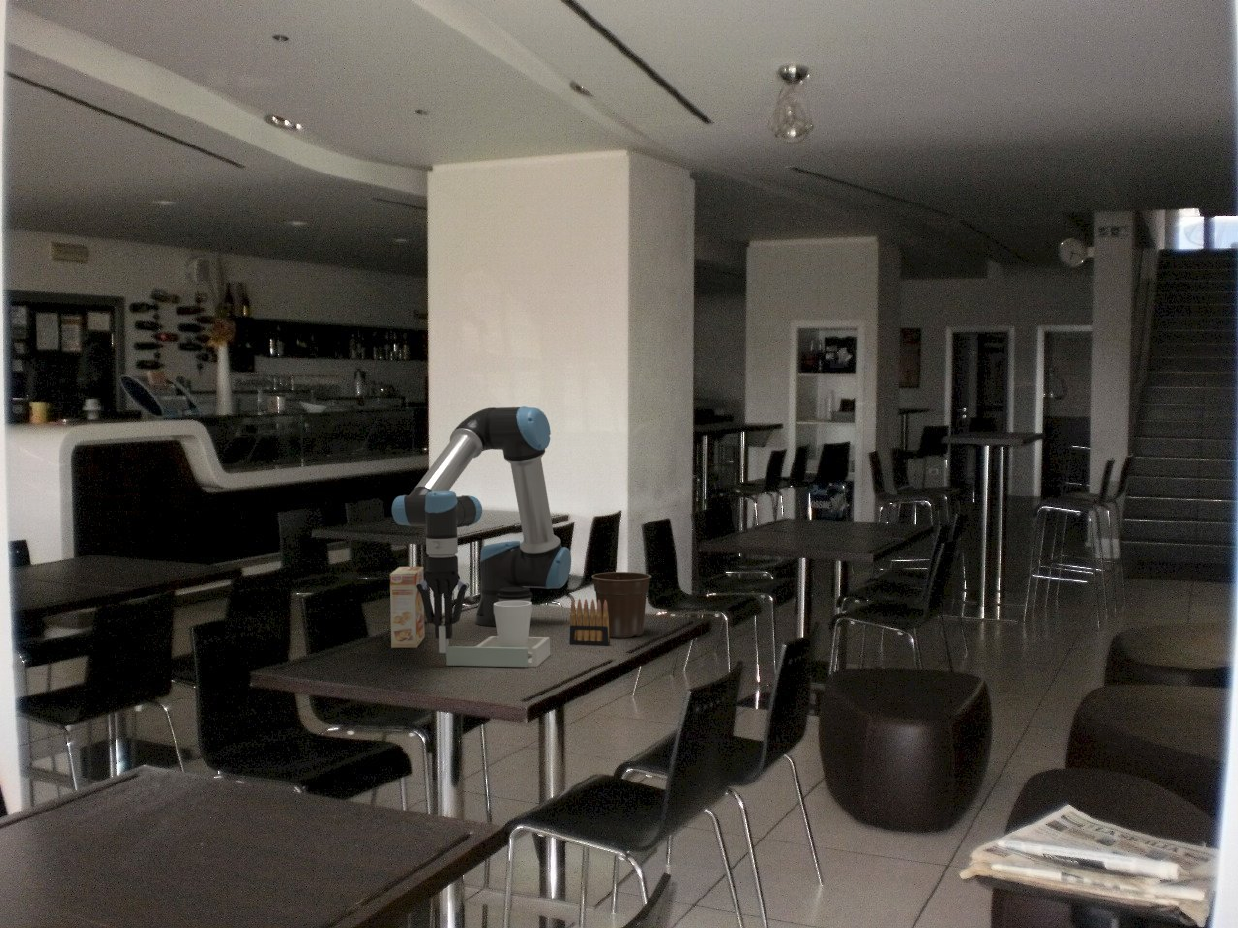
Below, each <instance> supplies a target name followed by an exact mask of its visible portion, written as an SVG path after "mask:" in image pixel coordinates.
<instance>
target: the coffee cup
mask: <svg viewBox="0 0 1238 928" xmlns="http://www.w3.org/2000/svg"><path fill="white" fill-rule="evenodd" d="M497 598H499V602H502V601H529V602H532V601H531V600H532V598H533V592H531V590H530V587H506V588H501V589H499V593H498V594H497Z"/></svg>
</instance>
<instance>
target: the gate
mask: <svg viewBox="0 0 1238 928" xmlns="http://www.w3.org/2000/svg"><path fill="white" fill-rule="evenodd" d="M445 654H446V655H445V656H446V657H445V659H446V660H445V661H446V666H449V667H450V666H454V667H491V668H493V667H496V668H498V667H500V668H501V667H502V668H529V667H528V648H519V647H476V646H468V645H467V646H463V645H460V646H459V645H458V646H457V645H449V646H447V647H446V653H445Z"/></svg>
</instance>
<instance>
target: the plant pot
mask: <svg viewBox="0 0 1238 928" xmlns="http://www.w3.org/2000/svg"><path fill="white" fill-rule="evenodd" d="M591 579H592V582H593V590H594V592H595V601H596V604H597V603H598V600H600V603H601V610H602V625H603V605H604V601H605V600H606V601H607V605H608V615H609V630H610V638H614V639H624V638H627V639H628V638H632V637H640V636H642V635H643V634H644V632H645V631H644V630H645V628H644V627H645V618H646V608H647V607H646V605H647V595H648V591H649V587H650V580H651V579H652V575H650V574H647V573H643V572H630V571H629V572H628V571H627V572H626V571H611V572H600V573H594V574H593V575H591Z"/></svg>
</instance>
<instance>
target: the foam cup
mask: <svg viewBox="0 0 1238 928" xmlns="http://www.w3.org/2000/svg"><path fill="white" fill-rule="evenodd" d="M532 603H533V602H532V601H531V602H529V601H502V602H497V603H494V614H495V620H496V626H495V627H496V632H497V636H498V640H499V647H519V648H527V646H528V637H530V635H529V634H530V626H531V625H530V624H531V618H532V617H531V616H532V615H531V614H532V613H533V609H532V608H533V604H532Z"/></svg>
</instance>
